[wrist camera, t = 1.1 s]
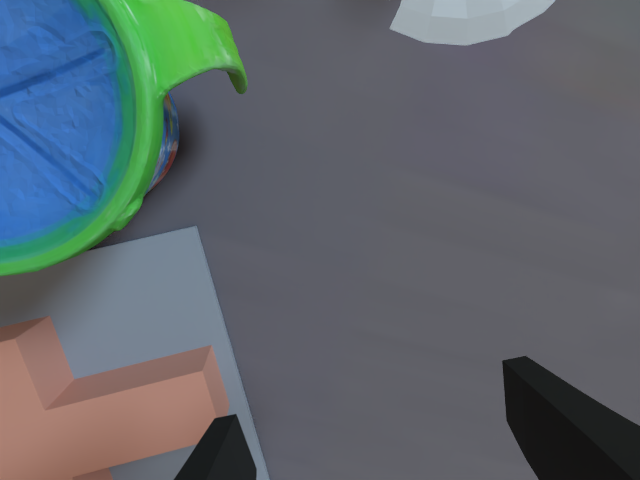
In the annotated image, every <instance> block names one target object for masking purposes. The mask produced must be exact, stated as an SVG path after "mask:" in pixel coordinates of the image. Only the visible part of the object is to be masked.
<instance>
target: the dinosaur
mask: <svg viewBox="0 0 640 480" xmlns="http://www.w3.org/2000/svg"><path fill="white" fill-rule="evenodd" d="M554 1H555V0H402V1H401V4H400V7H399V9H398V11H397V14H396V16H395V18H394V20H393V22H392V25H391V27H390V29H391V30H394V31H397V32H399V33H402V34H404V35H407V36H409V37H412V38H414V39H417V40H420V41H422V42H425V43H438V44H453V45H470V44H474V43H479V42H483V41H487V40H491V39H495V38H500V37H504V36H508V35H509V34H510V33H511V32H512V31H513V30H514V29H515V28H517V27H519V26H520V25H522V24H524V23H526V22H527V21H529V20H531V19H533V18H534V17H536V16H538V15H540V14H541V13H543V12H544V11H545V10H546V9H547V8H548V7H549V6H550V5H551V4H552V3H553V2H554Z"/></svg>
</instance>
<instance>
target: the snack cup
mask: <svg viewBox="0 0 640 480" xmlns="http://www.w3.org/2000/svg"><path fill="white" fill-rule="evenodd" d="M211 69H219V70H221V71H227V73H228V75H229V77H230V80H231V82H232V84H233V85H234V87H235V89H236V91H237V92H238V93H239V94H243V93H245V91H246V90H247V84H248V83H247V77H246V73H245V70H244V67H243V64H242V61H241V59H240V57H239V54H238V50H237V48H236V45H235V43H234V41H233V37H232V33H231V30H230V28H229V26H228V23H227V22H226V20H224V19H223V18H221V17H220V16H219V15H217V14H215V13H213V12H211V11H209V10H207V9H205V8H202V7H200V6H198V5H195V4H193V3H191V2H187V1H183V0H0V276H8V275H18V274H23V273H28V272H36V271H39V270H42V269H45V268H47V267H50V266H53V265H55V264H59V263H61V262H63V261H66V260H68V259H71V258H73V257H76V256H78V255H80V254H82V253H83V252H85V251H87V250H89V249H90V248H92V247H94V246H95V245H97V244H99V243H100V242H101V241H102V240H104V239H105V238H106V237H107V236H109V235H110V234H111V233H112V232H114V231H119V230H121V229H122V228H124V227H125V226H126V225H127V224H128V223H129V221H130V220H131V219H132V218H133V216H134V215H135V214H136V213H137V211H138V210H139V209H140V207H141V205H142V202H143V197H144V196H145V195H146V194H147V193H148V192H149V191H150V190H152V189H153V188H154V187H155V186H156V185H157V184H158V183H159V182H161V180H162V179H163V178H164V176H165V175H166V173H167V172H168V170H169V169H170V167H171V165H172V163H173V161H174V159H175V156H176V153H177V149H178V144H179V121H178V115H177V109H176V106H175V104H174V101H173V99H172V96H171V94H170V93H169V91H170V90H171V89H172V88H174V87H176V86H178V85H180V84H181V83H183V82H184V81H186V80H188V79H190V78H192V77H195V76H197V75H199V74H201V73H205V72H207V71H209V70H211Z"/></svg>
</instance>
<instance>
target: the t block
mask: <svg viewBox="0 0 640 480" xmlns="http://www.w3.org/2000/svg"><path fill="white" fill-rule="evenodd" d="M228 409H229V401H228V397H227V394H226V391H225V387H224V384H223V381H222V377H221V374H220V371H219V367H218V364H217V361H216V357H215V354H214V351H213V347H212V345H209V346H205V347H201V348H197V349H193V350H189V351H185V352H181V353H177V354H173V355H169V356H165V357H161V358H157V359H153V360H149V361H145V362H141V363H137V364H133V365H129V366H125V367H121V368H117V369H113V370H109V371H105V372H101V373H97V374H93V375H89V376H85V377H81V378H77V379H74V377H73V374H72V372H71V369H70V367H69V364H68V361H67V359H66V356H65V354H64V351H63V348H62V346H61V343H60V341H59V338H58V335H57V333H56V330H55V328H54V325H53V323H52V320H51V317H50V316H45V317H41V318H37V319H33V320H29V321H25V322H20V323H16V324H12V325H8V326H4V327H0V480H113V478H112V475H111V473H110V470H109V467H112V466H116V465H120V464H124V463H128V462H131V461H135V460H139V459H143V458H146V457H150V456H154V455H158V454H162V453H165V452H169V451H173V450H177V449H180V448H184V447H188V446H192V445H196V444H198V442H199V441H200V439H201V438H202V436H203V435H204V433H205V432H206V430H207V429H208V427H209V426H210V424H211V423H212V421H213V420H214V418H218V417H223V416H227V414H228Z"/></svg>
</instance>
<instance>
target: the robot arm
mask: <svg viewBox="0 0 640 480" xmlns="http://www.w3.org/2000/svg"><path fill="white" fill-rule="evenodd" d="M502 363H503V376H504V390H505V404H506V417H507V422H508V424H509V426H510V428H511V430H512V432H513V434H514V437H515V439H516V441H517V443H518V445H519V446H520V448H521V450H522V452H523V454H524V456H525V458H526V460H527V462H528V463H529V465H530V466H531V468H532V469H533V471H534V473H535V474H536V476H537V477H538V479H539V480H640V426H639V425H637V424H635V423H633V422H631V421H630V420H628V419H626V418H624V417H623V416H621V415H619V414H618V413H616V412H614V411H612V410H611V409H609V408H607V407H606V406H604V405H602V404H601V403H599V402H597V401H596V400H594V399H592V398H591V397H589V396H588V395H586V394H584V393H583V392H581V391H579V390H578V389H576V388H575V387H573V386H572V385H570V384H568V383H567V382H565V381H564V380H562V379H561V378H559V377H558V376H556V375H554V374H553V373H551V372H550V371H548V370H547V369H545V368H544V367H542V366H541V365H539V364H537V363H536V362H534V361H533V360H531V359H530V358H528V357H526V356H523V357H518V358H513V359H508V360H503V361H502ZM256 477H257V468H256V466H255V463H254V460H253V458H252V455H251V452H250V449H249V447H248V444H247V441H246V439H245V436H244V433H243V431H242V428H241V425H240V422H239V420H238V417H237V414H233V415H228V416H223V417H218V418H214V420H213V421H212V423H211V424H210V426H209V427H208V429H207V430H206V432H205V433H204V435H203V436H202V438H201V439H200V441H199V442H198V444H197V445H196V447H195V448H194V450H193V451H192V453H191V454H190V456H189V458H188V459H187V461H186V462H185V464H184V465H183V467H182V468H181V470H180V471H179V472H178V474H177V475H176V477H175V478H174V480H256Z"/></svg>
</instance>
